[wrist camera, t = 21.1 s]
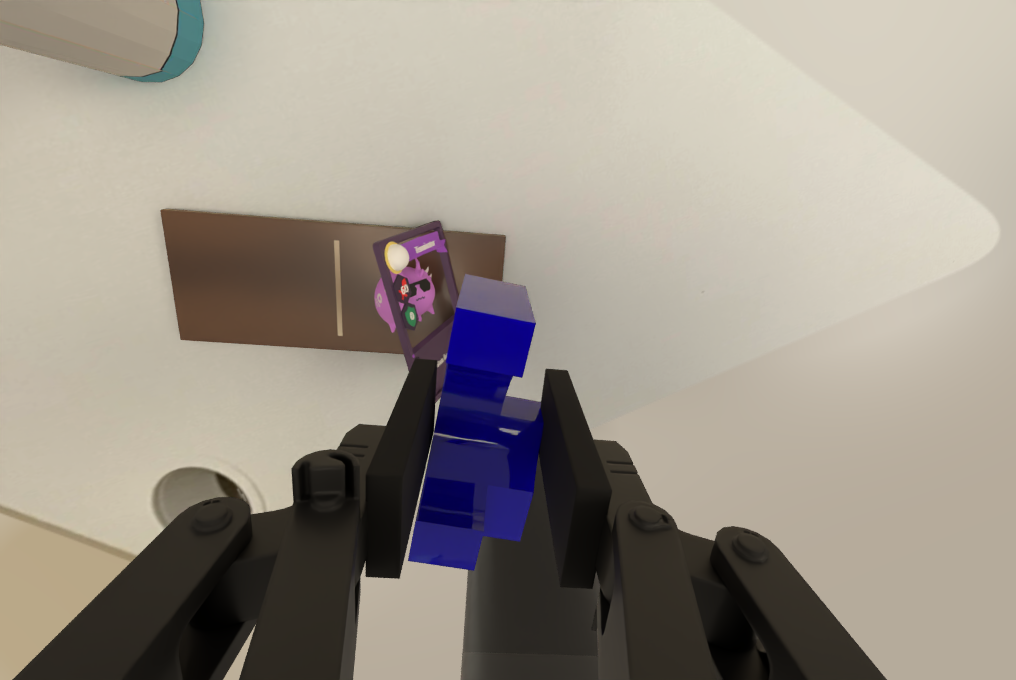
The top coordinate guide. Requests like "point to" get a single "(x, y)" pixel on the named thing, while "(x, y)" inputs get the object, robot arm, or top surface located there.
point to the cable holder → (480, 430)
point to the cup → (108, 34)
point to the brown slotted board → (302, 280)
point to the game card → (414, 293)
